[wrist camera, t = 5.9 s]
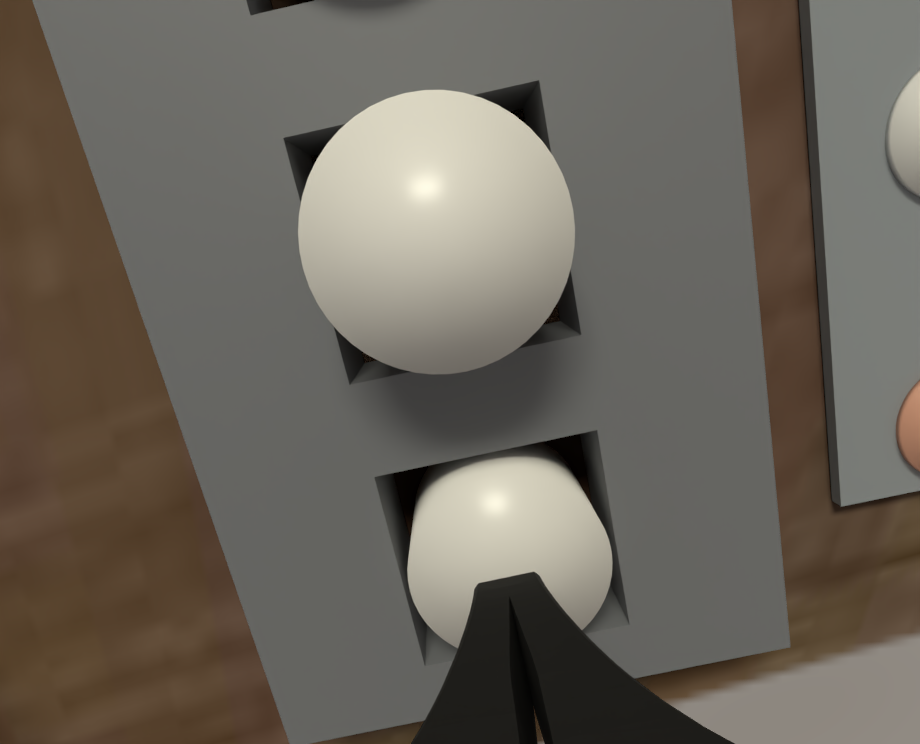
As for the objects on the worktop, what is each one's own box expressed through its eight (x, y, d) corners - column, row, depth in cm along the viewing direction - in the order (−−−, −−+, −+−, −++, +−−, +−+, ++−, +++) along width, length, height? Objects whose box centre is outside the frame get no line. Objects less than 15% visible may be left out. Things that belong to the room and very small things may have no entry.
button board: (312, 678, 18) (290, 747, 15) (8, -258, 12) (-100, -383, 10) (742, 591, 18) (790, 647, 15) (631, -411, 12) (678, -579, 10)
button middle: (362, 363, 14) (338, 399, 11) (308, 154, 13) (263, 124, 10) (560, 321, 14) (594, 344, 11) (523, 106, 13) (548, 60, 9)
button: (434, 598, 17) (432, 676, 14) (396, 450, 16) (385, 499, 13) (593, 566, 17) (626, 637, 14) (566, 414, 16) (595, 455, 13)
